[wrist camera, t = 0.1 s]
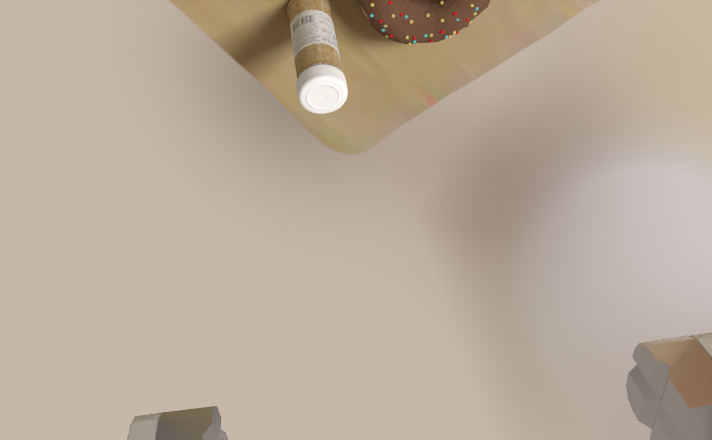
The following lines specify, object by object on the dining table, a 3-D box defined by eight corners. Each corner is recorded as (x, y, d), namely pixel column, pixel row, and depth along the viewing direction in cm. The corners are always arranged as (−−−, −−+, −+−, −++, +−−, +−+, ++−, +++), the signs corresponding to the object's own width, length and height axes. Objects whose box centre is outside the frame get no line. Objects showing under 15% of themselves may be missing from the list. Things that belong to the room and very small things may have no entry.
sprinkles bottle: (293, 30, 67) (305, 120, 60) (281, -6, 64) (291, 85, 56) (335, 20, 67) (352, 109, 59) (325, -18, 63) (342, 72, 55)
